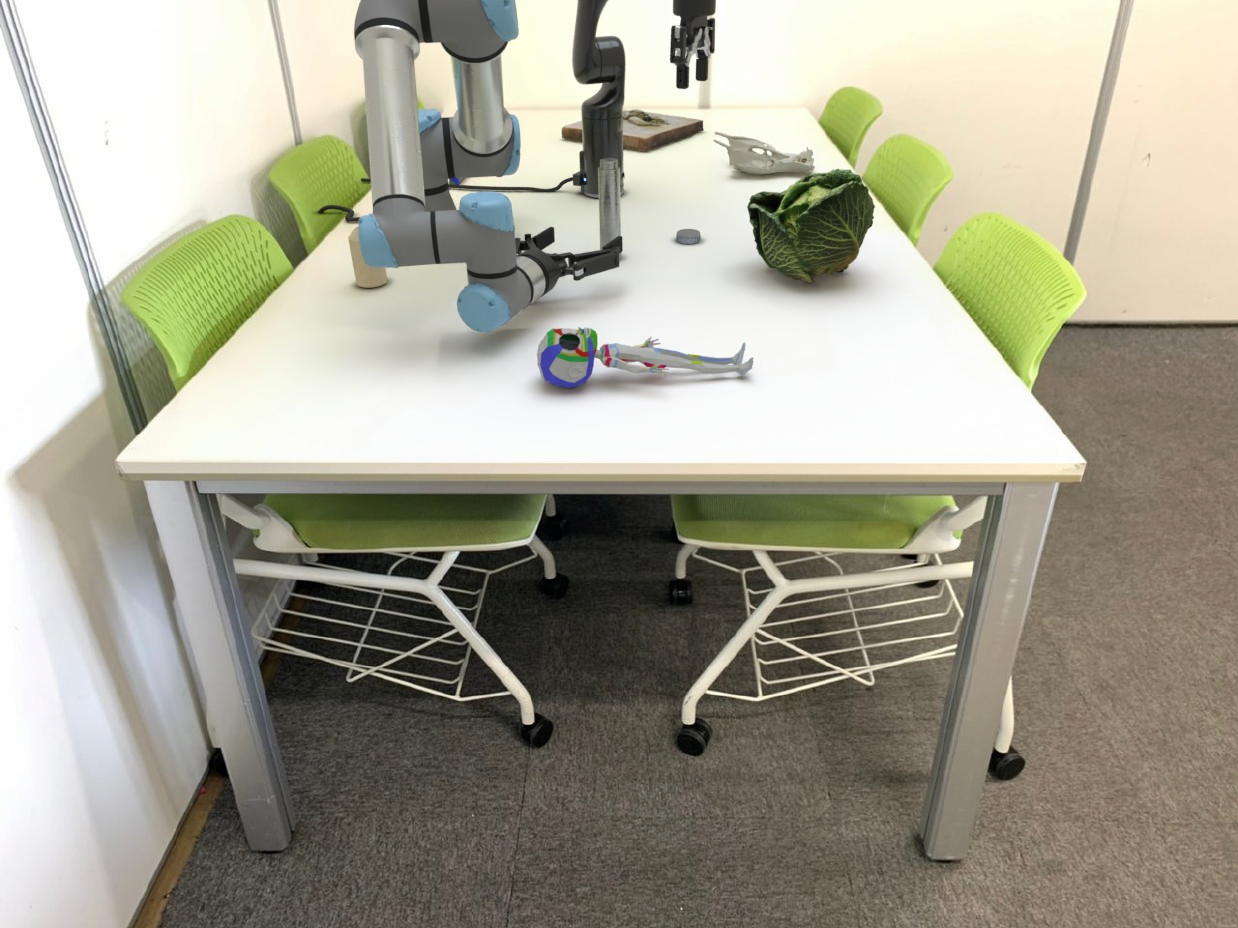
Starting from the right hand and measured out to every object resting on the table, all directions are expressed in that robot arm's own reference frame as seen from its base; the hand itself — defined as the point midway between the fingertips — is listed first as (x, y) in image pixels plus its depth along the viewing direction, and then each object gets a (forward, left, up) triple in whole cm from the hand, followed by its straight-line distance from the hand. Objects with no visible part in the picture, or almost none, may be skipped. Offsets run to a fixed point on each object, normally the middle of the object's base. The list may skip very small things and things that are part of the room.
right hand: (692, 84), depth 164 cm
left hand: (-8, -26, -22) cm, 35 cm away
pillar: (-72, +23, -29) cm, 81 cm away
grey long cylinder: (-9, -16, -29) cm, 34 cm away
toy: (+19, -58, -29) cm, 68 cm away
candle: (-42, -46, -29) cm, 69 cm away
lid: (0, 0, -28) cm, 28 cm away
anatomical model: (-5, +56, -29) cm, 63 cm away
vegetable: (+27, -8, -29) cm, 41 cm away
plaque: (-52, +78, -29) cm, 99 cm away
